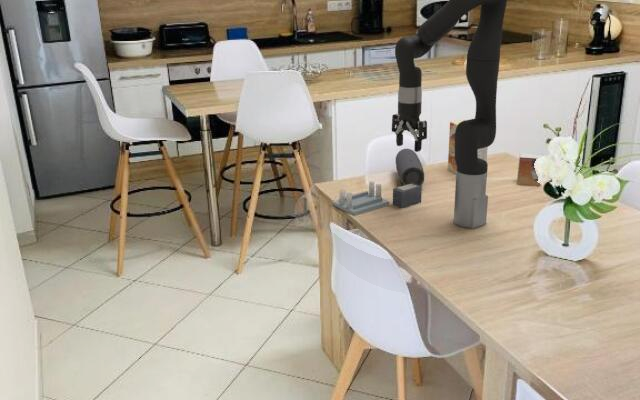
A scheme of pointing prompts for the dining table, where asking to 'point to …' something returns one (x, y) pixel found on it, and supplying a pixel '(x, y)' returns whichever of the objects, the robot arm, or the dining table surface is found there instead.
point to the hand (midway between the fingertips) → (408, 148)
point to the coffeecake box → (451, 156)
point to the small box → (527, 169)
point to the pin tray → (361, 200)
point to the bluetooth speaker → (409, 167)
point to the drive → (407, 195)
